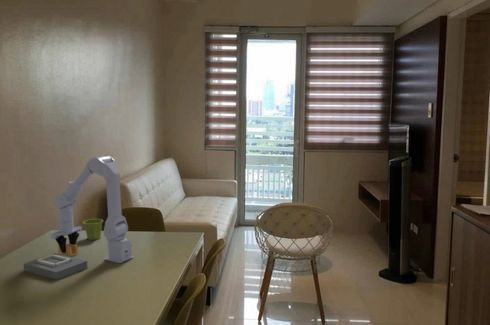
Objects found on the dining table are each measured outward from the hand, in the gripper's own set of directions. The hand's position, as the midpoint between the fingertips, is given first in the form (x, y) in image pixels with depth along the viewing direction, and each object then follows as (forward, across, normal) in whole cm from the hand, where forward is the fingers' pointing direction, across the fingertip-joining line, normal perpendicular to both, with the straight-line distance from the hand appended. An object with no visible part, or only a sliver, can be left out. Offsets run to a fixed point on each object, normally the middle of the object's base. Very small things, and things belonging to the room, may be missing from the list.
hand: (68, 250), depth 192 cm
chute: (+1, 0, 0) cm, 1 cm away
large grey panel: (+1, +15, +12) cm, 19 cm away
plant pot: (+2, -22, -9) cm, 24 cm away
